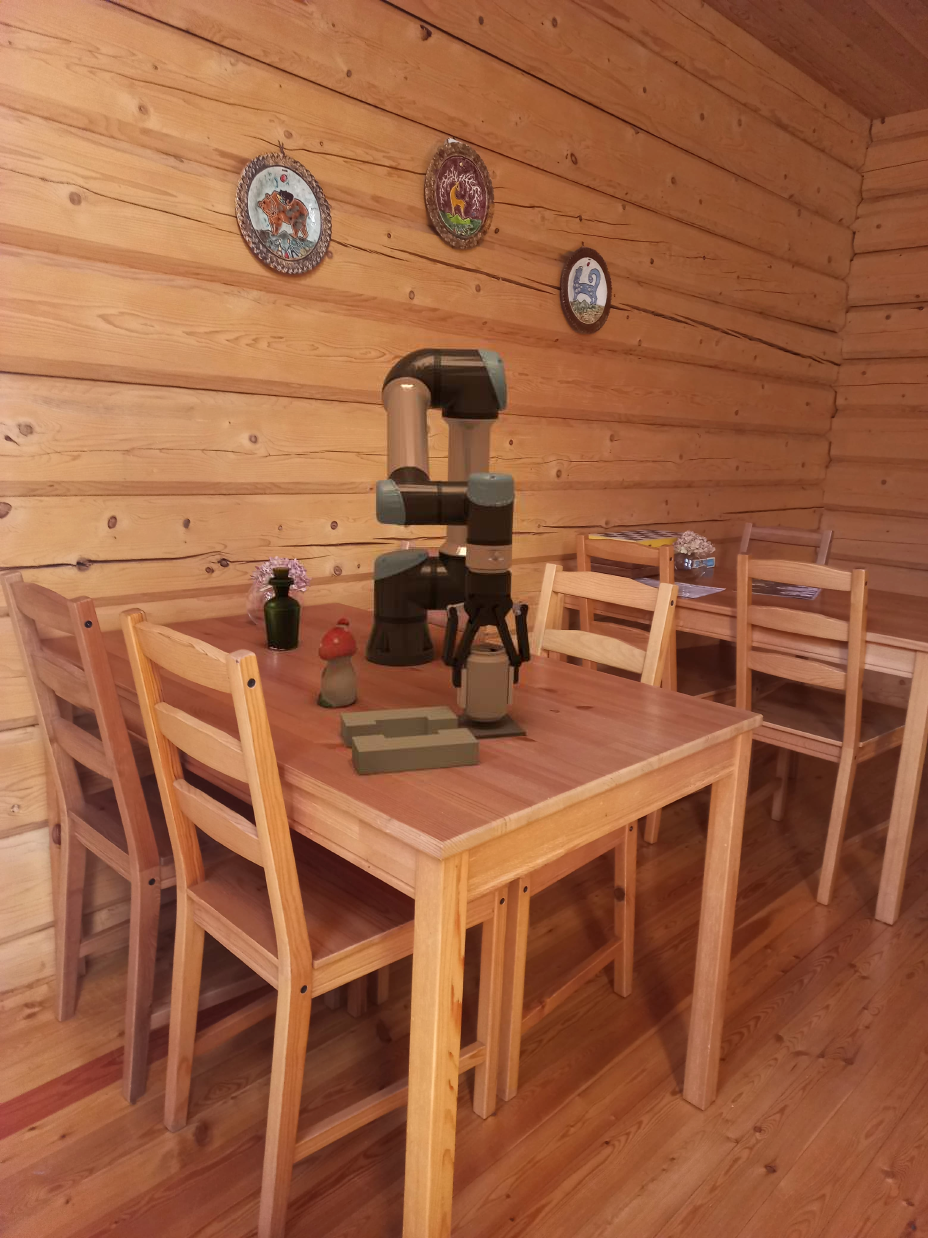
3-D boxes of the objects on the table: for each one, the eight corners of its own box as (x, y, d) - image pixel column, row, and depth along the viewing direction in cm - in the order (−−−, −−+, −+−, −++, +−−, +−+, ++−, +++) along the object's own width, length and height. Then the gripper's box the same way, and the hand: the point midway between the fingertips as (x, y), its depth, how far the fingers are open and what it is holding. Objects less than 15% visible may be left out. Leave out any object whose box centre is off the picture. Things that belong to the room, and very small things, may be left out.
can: (513, 721, 147) (516, 651, 145) (471, 725, 145) (473, 654, 142) (497, 707, 154) (499, 640, 151) (456, 711, 152) (457, 643, 149)
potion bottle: (271, 653, 195) (268, 572, 191) (259, 645, 201) (257, 566, 198) (306, 649, 199) (305, 569, 195) (294, 641, 205) (292, 564, 202)
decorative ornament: (340, 693, 167) (339, 615, 164) (368, 699, 164) (368, 619, 160) (307, 705, 159) (306, 624, 156) (336, 712, 156) (336, 628, 153)
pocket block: (340, 733, 145) (340, 713, 144) (446, 725, 150) (447, 705, 149) (359, 775, 128) (359, 752, 127) (478, 764, 133) (478, 742, 132)
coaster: (444, 719, 153) (444, 715, 153) (504, 714, 156) (504, 711, 156) (462, 740, 143) (462, 736, 143) (526, 735, 146) (526, 731, 146)
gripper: (433, 574, 138) (431, 715, 143) (555, 571, 143) (549, 706, 148) (422, 567, 145) (420, 701, 150) (538, 564, 150) (533, 693, 155)
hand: (484, 703), depth 149 cm, fingers closed on can, 7 cm apart
